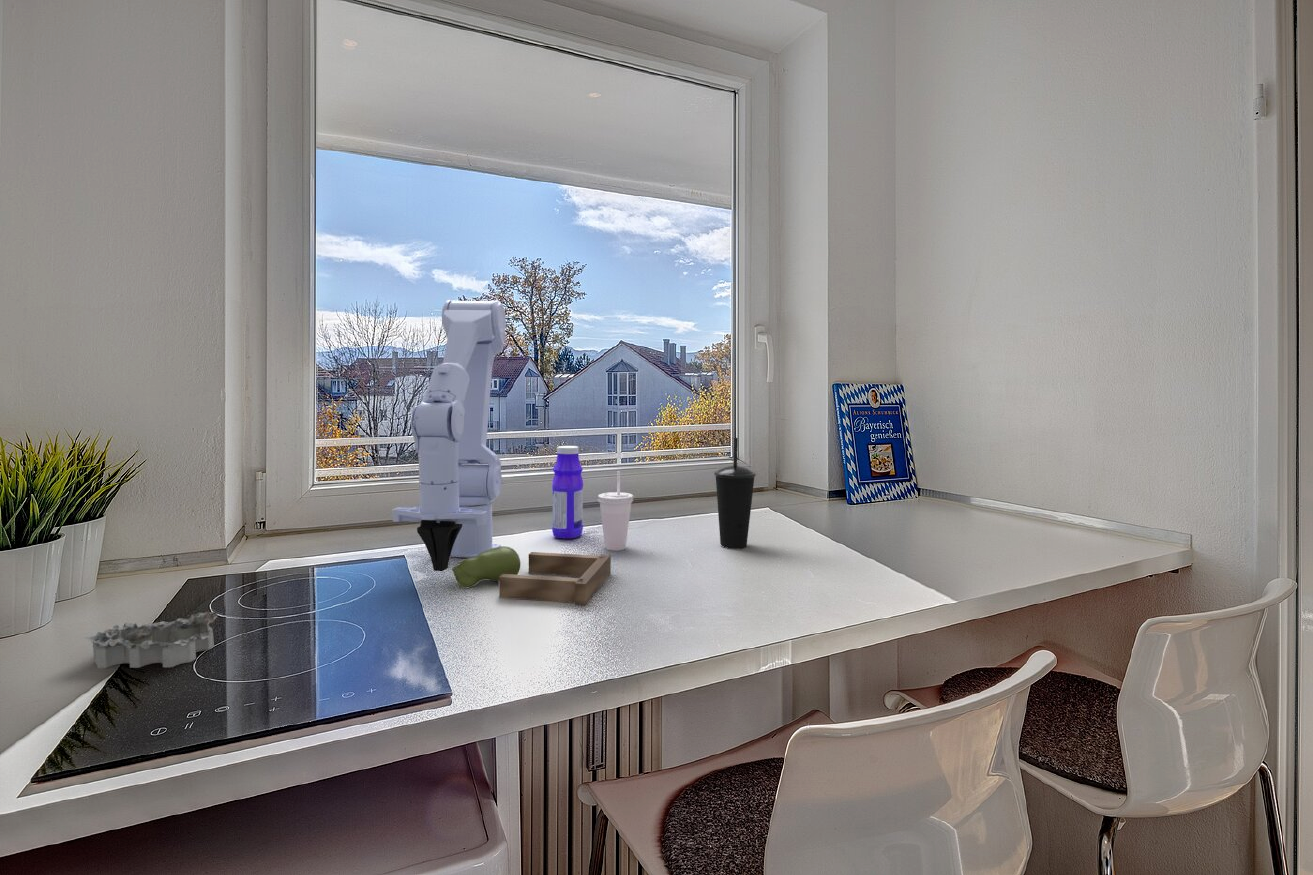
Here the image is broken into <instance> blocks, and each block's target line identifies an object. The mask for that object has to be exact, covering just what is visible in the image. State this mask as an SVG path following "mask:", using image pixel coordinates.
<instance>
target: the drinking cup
mask: <svg viewBox="0 0 1313 875" xmlns="http://www.w3.org/2000/svg"><path fill="white" fill-rule="evenodd" d="M738 439H739V438H738V437H733V460H732V461H733V465H727V466H724V467H721V468H719V469H718V470H715V471H714V472H713V475H714V476H715V483H716V484H715V485H716V500H717V513H718V527H719V530H718V531H719V542H720V544H721V545H722V546H724V547H723V548H725V547H728V548H727V549H731V548H740V549H744V547H745V548H746V547H747V544H748V537H749V528H750V520H751V510H752V502H753V501H752V500H753V493H754V485H755V484H754V482H755V477H757V473H756V472H755V471H752V470H751V469H750V468H747V467H745V466H740V465H738V449H739V448H738V447H739V445H738V442H739V440H738ZM720 544H719V545H720ZM721 545H720V546H721ZM722 546H721V547H722Z"/></svg>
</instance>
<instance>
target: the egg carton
mask: <svg viewBox="0 0 1313 875" xmlns="http://www.w3.org/2000/svg"><path fill="white" fill-rule="evenodd" d="M217 617H218V613H217V612H216V611H213V612H210V611H205V612H197V613H195V614H193V613H192V614H191V616H190V617H189V618H187V619H186V618H177V619H176V620H174V621H164V620H163V621H159V622H151V623H147V624H142V625H141V626H138V624H137V623H136V622H135V623H127V622H125V623H124V624H123V626H122V628H120V626H119V625H118V624H115V625H114V626H113V627H112V629H110V628H108V629H106V630H104V631H103V632H101V631H98V632H97V633H96V635H93V636H86V637H84V639H86V640H88V641H89V642H91V643H92V650H93V652H92V653H93V663H94V664H96V668H97V669H107V668H109V667H112V666H115V665H119V664H120V665H121V664H129V668H130V669H131V668H134V669H138V668H142V667H144V666H147V665H151V664H162V668H174V667H176V666H178V665H181V664H186V663H187V664H188V663H191V662H193V661H195V660H196V659H197V653H198V652H202V651H209V650H211V649H212V648H214V647H215V644H214V643H215V642H214V641H215V640H214V633H213V632H214V630H213V629H214V628H212V626H210V624H213V623H214V622H215V620H216V619H217Z"/></svg>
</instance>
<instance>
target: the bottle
mask: <svg viewBox="0 0 1313 875" xmlns="http://www.w3.org/2000/svg"><path fill="white" fill-rule="evenodd" d="M556 449H557V450H556V451H557V452H556V454H557V456H556V461H555V465H554V466H553V467H552V471H553V473H554V476H553V479H552V485H551V488H552V526H551V532H552V535H553V537H555V538H556V539H568V540H569V539H570V540H571V539H576V538H578V537H579V536H581V535H582V532H583V530H584V525H583V524H584V520H583V519H584V516H583V515H584V513H583V512H584V511H583V510H584V509H583V505H584V504H583V502H584V501H583V500H584V499H583V498H584V495H583V494H584V492H583V490H584V480H583V477H582V473H583V467H582V464H581V462H580V457H579V455H580V454H579V446H577V445H561V446H560V445H559V446H557V448H556Z"/></svg>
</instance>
